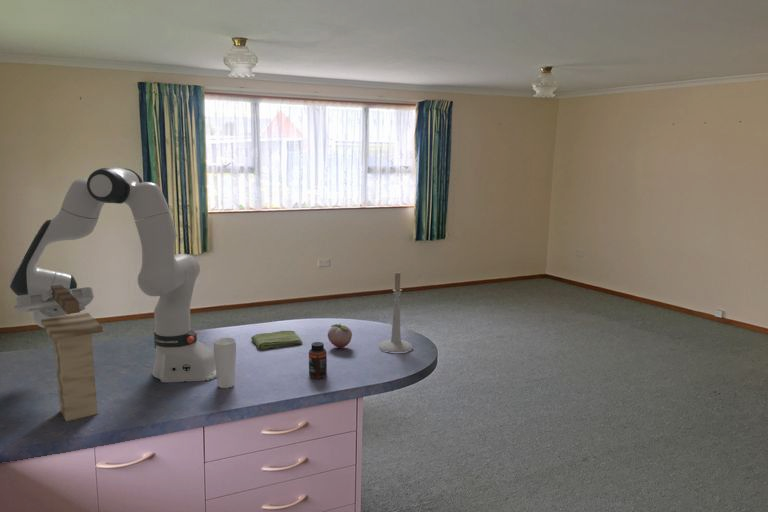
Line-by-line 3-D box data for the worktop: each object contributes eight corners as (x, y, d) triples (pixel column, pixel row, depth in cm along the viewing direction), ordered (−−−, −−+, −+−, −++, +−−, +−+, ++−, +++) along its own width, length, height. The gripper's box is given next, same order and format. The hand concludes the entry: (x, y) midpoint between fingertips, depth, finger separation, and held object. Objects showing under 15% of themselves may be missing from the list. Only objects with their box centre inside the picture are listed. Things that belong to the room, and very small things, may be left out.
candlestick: (389, 356, 215) (391, 276, 210) (373, 345, 226) (374, 269, 220) (418, 350, 222) (421, 273, 216) (401, 340, 233) (403, 266, 227)
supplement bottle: (329, 373, 198) (329, 342, 196) (322, 380, 192) (322, 347, 190) (313, 371, 200) (313, 339, 197) (305, 377, 194) (305, 345, 192)
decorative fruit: (356, 347, 223) (357, 322, 221) (343, 353, 216) (344, 327, 215) (336, 342, 228) (337, 317, 226) (323, 348, 221) (323, 323, 219)
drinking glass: (217, 381, 190) (215, 337, 187) (238, 381, 190) (237, 337, 187) (212, 390, 183) (211, 344, 180) (235, 390, 184) (233, 344, 181)
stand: (49, 407, 169) (41, 319, 164) (94, 397, 176) (88, 312, 171) (61, 429, 157) (52, 335, 152) (109, 417, 164) (102, 326, 159)
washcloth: (304, 345, 225) (304, 337, 225) (258, 352, 217) (258, 343, 217) (293, 335, 237) (293, 327, 236) (250, 341, 229) (249, 333, 228)
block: (51, 295, 173) (50, 286, 172) (62, 294, 175) (61, 284, 174) (67, 314, 156) (66, 303, 156) (79, 312, 158) (78, 301, 158)
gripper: (11, 300, 175) (15, 286, 165) (86, 290, 188) (94, 276, 178) (15, 320, 174) (19, 307, 164) (90, 309, 187) (98, 296, 176)
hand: (59, 291), depth 171 cm, fingers closed on block, 3 cm apart
